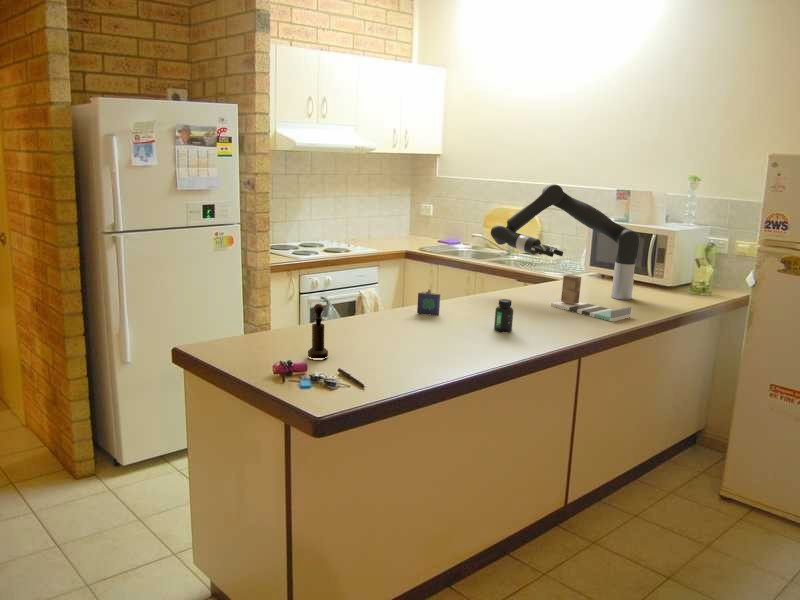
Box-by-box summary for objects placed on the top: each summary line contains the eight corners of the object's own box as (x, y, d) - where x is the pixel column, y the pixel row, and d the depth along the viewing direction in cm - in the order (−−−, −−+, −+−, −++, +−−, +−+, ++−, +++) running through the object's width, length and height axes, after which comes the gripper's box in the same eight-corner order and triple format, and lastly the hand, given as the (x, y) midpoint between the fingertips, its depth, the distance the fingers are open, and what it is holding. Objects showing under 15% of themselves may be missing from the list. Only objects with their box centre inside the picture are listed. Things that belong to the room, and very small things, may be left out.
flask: (439, 314, 288) (440, 288, 285) (439, 315, 285) (440, 290, 282) (417, 312, 288) (418, 287, 286) (416, 314, 285) (418, 289, 283)
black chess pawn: (308, 354, 226) (309, 301, 222) (328, 354, 227) (329, 301, 223) (307, 360, 220) (308, 306, 216) (327, 361, 220) (328, 306, 216)
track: (569, 302, 320) (570, 293, 319) (630, 317, 297) (631, 307, 296) (550, 306, 311) (551, 296, 310) (611, 321, 288) (613, 311, 287)
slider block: (567, 300, 315) (570, 274, 313) (578, 303, 311) (581, 276, 308) (560, 301, 312) (563, 275, 309) (572, 304, 308) (574, 278, 305)
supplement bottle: (498, 333, 263) (500, 302, 260) (491, 328, 269) (493, 298, 266) (514, 332, 264) (517, 302, 262) (507, 327, 271) (509, 298, 268)
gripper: (521, 236, 316) (552, 246, 306) (538, 236, 326) (567, 246, 317) (518, 252, 318) (547, 263, 308) (534, 251, 329) (563, 261, 319)
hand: (557, 254), depth 312 cm, fingers open, 8 cm apart
